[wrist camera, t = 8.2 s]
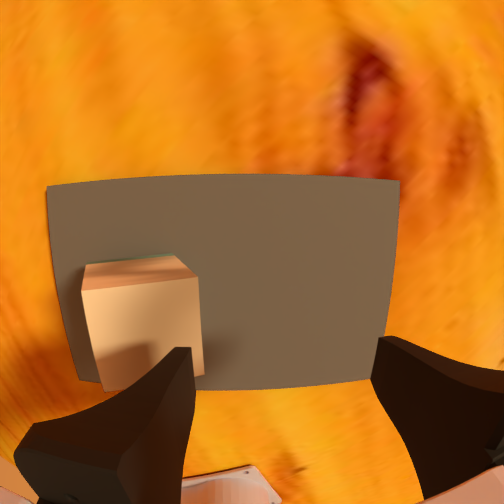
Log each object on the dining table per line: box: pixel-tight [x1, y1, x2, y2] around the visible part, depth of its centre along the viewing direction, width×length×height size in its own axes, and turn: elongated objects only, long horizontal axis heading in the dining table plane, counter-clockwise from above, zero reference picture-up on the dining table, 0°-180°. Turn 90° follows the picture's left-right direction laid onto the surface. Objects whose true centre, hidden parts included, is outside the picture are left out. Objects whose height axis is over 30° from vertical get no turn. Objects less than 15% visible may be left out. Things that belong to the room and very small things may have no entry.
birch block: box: [81, 253, 205, 392], centre depth 15 cm, size 5×5×5 cm
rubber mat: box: [47, 174, 400, 390], centre depth 18 cm, size 22×14×1 cm, turn 90°
